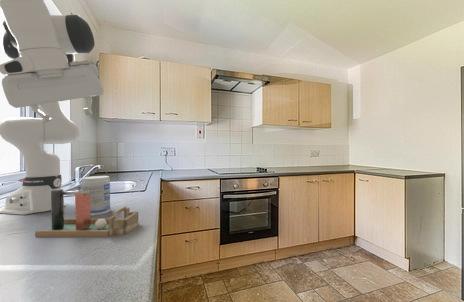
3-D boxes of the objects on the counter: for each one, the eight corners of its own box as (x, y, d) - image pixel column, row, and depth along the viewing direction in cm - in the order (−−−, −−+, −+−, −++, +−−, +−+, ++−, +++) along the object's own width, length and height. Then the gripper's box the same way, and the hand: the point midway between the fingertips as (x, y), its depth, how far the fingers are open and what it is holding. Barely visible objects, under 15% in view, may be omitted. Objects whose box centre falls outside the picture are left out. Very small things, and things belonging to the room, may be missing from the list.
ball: (92, 231, 65) (92, 220, 65) (99, 227, 68) (98, 217, 68) (102, 231, 65) (102, 220, 65) (109, 227, 68) (108, 217, 68)
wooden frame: (108, 238, 61) (108, 214, 61) (127, 225, 72) (127, 204, 72) (123, 238, 61) (123, 214, 61) (139, 225, 72) (139, 204, 72)
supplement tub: (111, 215, 83) (110, 177, 83) (81, 219, 78) (80, 179, 78) (109, 209, 91) (108, 174, 91) (82, 212, 86) (81, 176, 86)
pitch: (35, 239, 61) (35, 231, 61) (65, 225, 72) (65, 218, 72) (108, 239, 61) (107, 231, 61) (127, 225, 72) (127, 218, 72)
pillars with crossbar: (48, 229, 65) (48, 191, 65) (57, 226, 68) (56, 189, 68) (86, 229, 65) (85, 191, 65) (93, 226, 68) (92, 189, 68)
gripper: (95, 61, 60) (111, 109, 65) (0, 69, 52) (26, 124, 57) (93, 58, 55) (111, 111, 60) (-13, 67, 47) (18, 128, 51)
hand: (69, 118), depth 58 cm, fingers open, 8 cm apart
